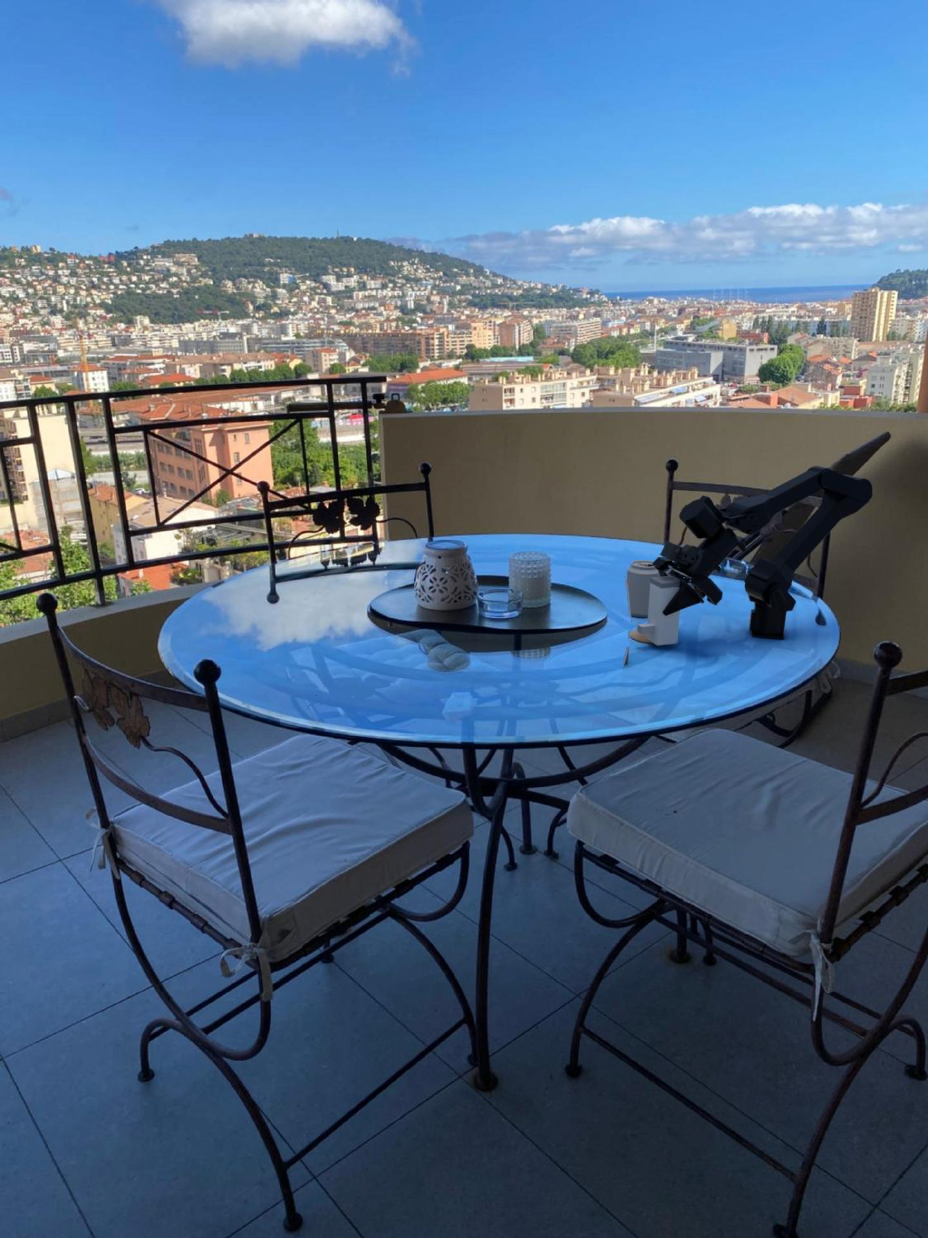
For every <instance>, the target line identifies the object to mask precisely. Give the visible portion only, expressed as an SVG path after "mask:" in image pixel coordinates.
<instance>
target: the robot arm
mask: <svg viewBox="0 0 928 1238" xmlns="http://www.w3.org/2000/svg"><path fill="white" fill-rule="evenodd" d="M820 491H823V493H822V497H821V503H820V505H819V507H818V508H817V509H816V510H815V512H814V513H812V515H811V516H810V517H809V518H808V519H807V520H806V521H805V523H804V524H803V525H802V526H801V527H800V528H799V529H798V530H797V532H796V533H795V534H794V535H793V536H792V537H791V539H789V541H788V542H787V543H786V544H785V546H784V547H782V549H781V550H780V551H779V552H778V553H777V554H776V555H775V556H774V557H773V558H771V559H769V560H767V559H765V558H762V557H761V558H759V559H758V560H757V561H756V563H755V564H754V565H753V567H751V569H749V570H747V572H746V573H747V575H746V577H745V579H744V580H743V581H744V582H743V583H744V590H745V592H746V594H747V596H748V599H749V600H748V601H749V602H751V603H754V606H753V607H754V608H752V609H751V610H750V615H749V623H748V624H749V625H748V628H749V629H748V630H749V632H750V633H751V636H752V637H754V638H755V637H756V638H765V639H766V638H767V639H778V640H784V639H785V638H786V636H785V627H786V621H787V619H786V618H787V612H792V611H794V608H795V606H796V604H797V601H796V599H795V598H794V597H793V596H792V595H791V593H790V592H789V590H790V588H791V586H792V584H793V580H794V574H795V572H796V570H798V568H800V567H801V566H802V564H803V562H805V561H806V560H807V558H808V557H810V555H811V554H812V553H813V551H815V549H817V547H818V546H819V545H820V544H821V543H822V542H823V540H824V539H825V538H826V537H827V536H828V535H829V534H830V533H831V531H832V530H833V529H834V528H835V527H836V526H837V525H838V523H839V522H840V521H842V520H843V519H845V518H848V517H850V516H851V515H854V514H856V513H858V512H859V511H860V510H861V509H862V508H863V507H865V506H866V505H867V504H868V503H870V501H871V499H872V498H873V495H874V494H873V484H872V482H871V480H869V479H867V478H865V477H864V478H863V477H860V476H859V477H858V476H854V475H849V474H845V473H844V474H841V473H840V472H837V471H834V470H833V469H831V468H829V467H824V466H819V465H814V466H811V467H809V468H807V471H804V472H802V473H801V474H798V475H797V476H795V477H793V478H791V479H789V480H787V481H786V482H783V483H781V484H780V485H777V486H776V487H774V488H772V489H769V490H768V491H766V492H765V493H762V494H759V495H753V496H749V497H748V496H747V497H745V498H741V499H737V500H735V501H731V503H729V504H727V506H726V507H721V508H717V506H716V505H715V504H714V501H713V500H712V499H711V498H710V496H707V495H702V496H701V497H700V498H698V499H694V500H693V501H690V502H689V503H687V504H685V505H684V507H683V508H681V510H680V512H679V515H678V518H679V520H680V522H682V523H683V524H684V526H685V527H686V528H687V529H688V530H689V531H690V532H691V533H692V534H693V536H694V537H695V538H696V539H699V540H702V539H703V540H702V541H701V542H700V543H699V544H698V546H695V545H690V544H687V543H686V544H685V545H684V546H683V547H682V546H680V545H678V544H675V543H673V542H670V541H669V540H666V541H665V544H664V546H663V548H662V550H661V552H660V554H659V556H658V557H656V559H655V560H653V561H654V562H653V563H652V565H653V566H654V567H655V568H656V569H657V570H658V572H659V574H660V577H663V576H672V577H674V578H676V579H678V580H680V585H679V591H678V592H677V593H676V595H675V596H674V597H673V598H672V600H671V601H670V602H669V603H668V605H667V606H666V607H665V609H664V610H663V612H662V613H663V614H664V615H665V616H667V615H670V614H672V613H675V612H677V611H679V610H680V611H682V610H685V609H686V608H689V607H692V606H695V605H697V604H704V603H705V600H704V599H705V597H706V601H707V602H708V603H710V604H712V605H714V606H717V605H718V604H719V603H720V601H721V600H722V599H723V595H724V593H723V591H722V590H721V589H720V588H719V587H718V585H717V584H716V583H715V582H714V581H713V580H712V579H711V578H710V576H711V575H712V574H713V573H714V572H715V573H719V572H721V570H722V567H721V564H722V563H723V562H724V561H725V560H726V559H727V557H728V556H729V555H731V553H732V552H733V551H734V550H736V551H739V552H742V553H746V551H747V549H746V538H745V537H742V536H740V535H739V536H738V535H737V534H736V533H735V532H734V530H735V531H738V532H740V533H743V534H746V535H749V536H750V535H754V534H757V533H758V532H760V531H761V530H762V529H763V528H765V527H766V526H767V525H769V524H770V523H771V521H772V519H773V518H774V516H776V515H777V514H778V513H780V512H782V511H784V510H785V509H787V508H789V507H791V506H793V505H795V504H797V503H799V502H801V501H802V500H804V499H806V498H809V497H810V496H813V495H814V494H816V493H817V492H820ZM723 524H724V525H726V526H727V528H726V527H725V526H724V525H723Z"/></svg>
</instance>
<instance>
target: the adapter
mask: <svg viewBox="0 0 928 1238" xmlns="http://www.w3.org/2000/svg"><path fill="white" fill-rule="evenodd" d="M679 585H680V580H678V579H676V578H674V577H672V576H663V577H653V578H651V580H650V594H649V609H648V617H647V623H639V624H637V630H638V631H637V632H638V633H640V634H641V635H642V634H647V639H648V640H650V641H651V642H653V643H654V644H653V645H656V646H663V645H664V646H665V645H673V644H678V641H679V639H678V637H679V624H680V613H681V612H680V611H681V610H679V611H677V612H675V613H672V614H670V615H667V616H665V615H664V614H663V613H662V612H663V610H664V609H665V607H666V606H667V605H668V603H669V602H670V601H671V600H672V598H673V597H674V596H675V595H676V593H677V592H678V591H679Z"/></svg>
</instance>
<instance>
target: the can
mask: <svg viewBox="0 0 928 1238" xmlns="http://www.w3.org/2000/svg"><path fill="white" fill-rule="evenodd" d="M654 561H655V560H646V559H640V560H637V559H636V560H632V561H631V562H630V566H628V568H627V571H626V585H627V590H628V600H629V610H630V616H631V617H632V616H633V617H637V618H648V609H649V594H650V580H651V578H653V577H660V574H659V572H658V570H657V569H656V568H655V567H654V566H653V565H652V563H653V562H654Z"/></svg>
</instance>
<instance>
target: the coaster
mask: <svg viewBox="0 0 928 1238" xmlns="http://www.w3.org/2000/svg"><path fill="white" fill-rule="evenodd" d="M637 631H638V629H635V630H632V631H630V632H629V638H630V639H632V640H633V639H634V640H633V641H635V640H636V642H638V641H639V643H643V644H649V643H653V642H651V641H650V640H648V639H647V634H642V635H641V634H640V633H638V632H637Z"/></svg>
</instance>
